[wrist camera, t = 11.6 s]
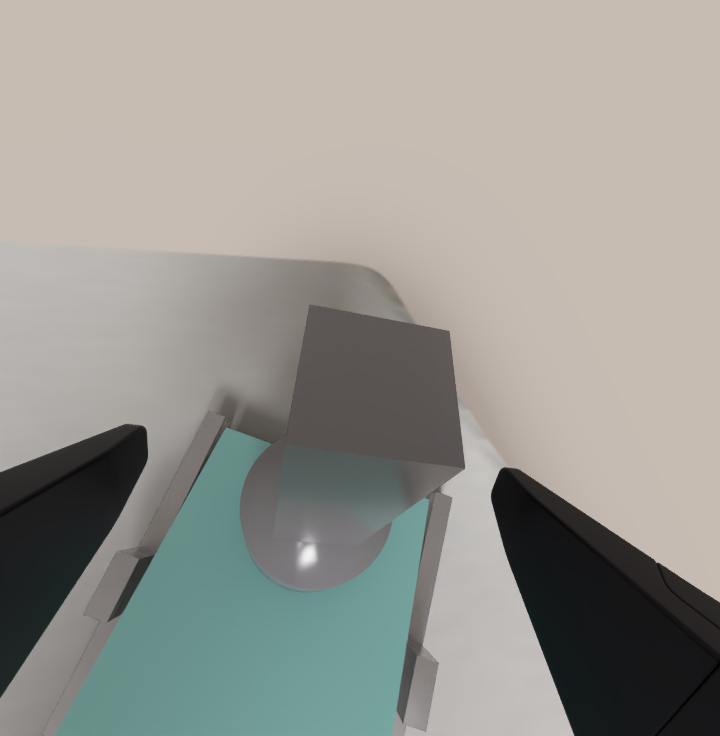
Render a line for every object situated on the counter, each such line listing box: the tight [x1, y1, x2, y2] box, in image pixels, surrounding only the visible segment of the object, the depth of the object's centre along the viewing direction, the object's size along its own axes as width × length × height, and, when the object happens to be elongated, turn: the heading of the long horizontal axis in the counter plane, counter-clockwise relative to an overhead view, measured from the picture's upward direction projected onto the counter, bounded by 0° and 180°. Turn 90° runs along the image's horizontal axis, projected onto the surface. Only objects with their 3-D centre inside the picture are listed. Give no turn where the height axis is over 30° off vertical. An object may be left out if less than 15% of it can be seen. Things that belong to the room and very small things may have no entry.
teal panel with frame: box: [41, 411, 452, 736], centre depth 17 cm, size 17×15×4 cm
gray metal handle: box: [240, 305, 465, 593], centre depth 13 cm, size 7×7×14 cm
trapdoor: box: [55, 428, 429, 736], centre depth 16 cm, size 16×12×2 cm
